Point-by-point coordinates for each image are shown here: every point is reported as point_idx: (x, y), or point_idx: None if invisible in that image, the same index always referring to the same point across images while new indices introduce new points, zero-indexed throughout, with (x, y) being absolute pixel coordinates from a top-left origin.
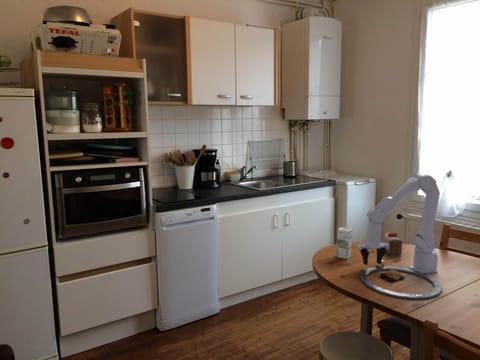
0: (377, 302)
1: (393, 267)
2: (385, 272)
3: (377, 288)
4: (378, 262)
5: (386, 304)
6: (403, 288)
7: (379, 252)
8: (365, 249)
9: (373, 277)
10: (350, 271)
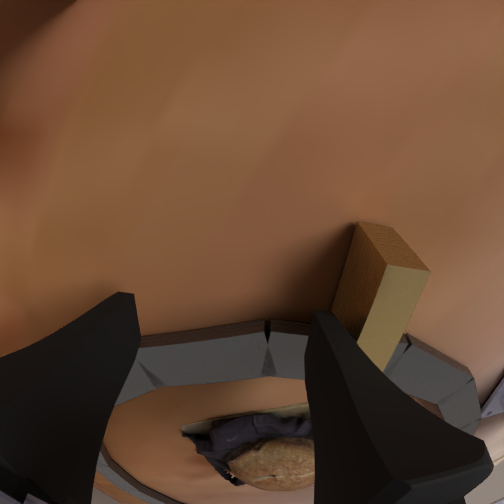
0: (101, 490)
1: (417, 373)
2: (234, 461)
3: (117, 483)
4: (307, 358)
5: (123, 501)
6: (244, 495)
7: (330, 486)
8: (25, 499)
9: (150, 418)
10: (19, 300)
